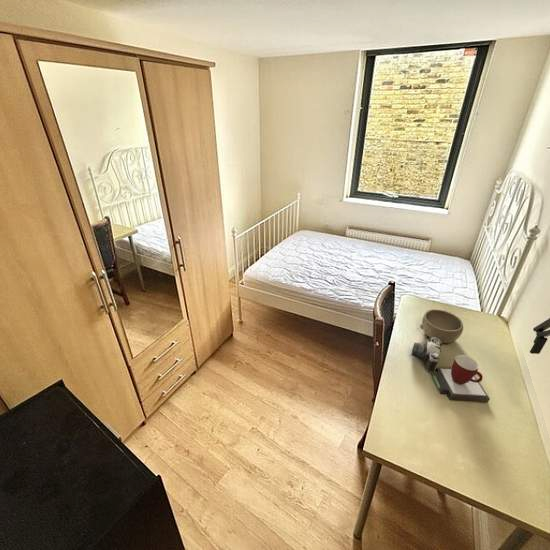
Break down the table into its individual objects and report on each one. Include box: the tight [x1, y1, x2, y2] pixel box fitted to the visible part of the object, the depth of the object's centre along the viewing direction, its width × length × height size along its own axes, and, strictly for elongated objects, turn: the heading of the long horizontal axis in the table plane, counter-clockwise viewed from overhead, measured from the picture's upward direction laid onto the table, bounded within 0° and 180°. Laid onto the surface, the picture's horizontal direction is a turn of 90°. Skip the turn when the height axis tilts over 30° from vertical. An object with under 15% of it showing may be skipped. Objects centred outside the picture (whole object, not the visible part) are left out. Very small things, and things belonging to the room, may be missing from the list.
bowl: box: [419, 308, 464, 344], centre depth 141 cm, size 17×18×10 cm
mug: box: [450, 354, 484, 385], centre depth 112 cm, size 10×8×10 cm
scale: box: [431, 367, 491, 404], centre depth 116 cm, size 14×17×3 cm
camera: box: [411, 337, 443, 374], centre depth 127 cm, size 16×10×10 cm, turn 153°
